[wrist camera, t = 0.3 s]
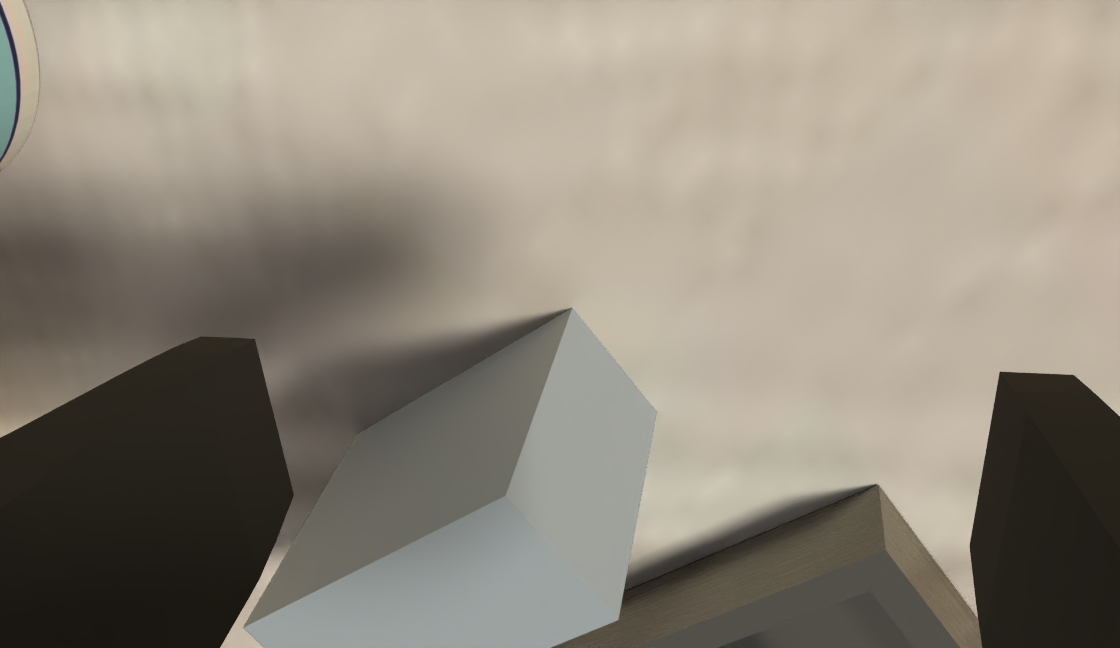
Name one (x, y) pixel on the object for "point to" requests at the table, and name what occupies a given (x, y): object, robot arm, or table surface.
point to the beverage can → (17, 78)
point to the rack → (802, 591)
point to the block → (476, 510)
